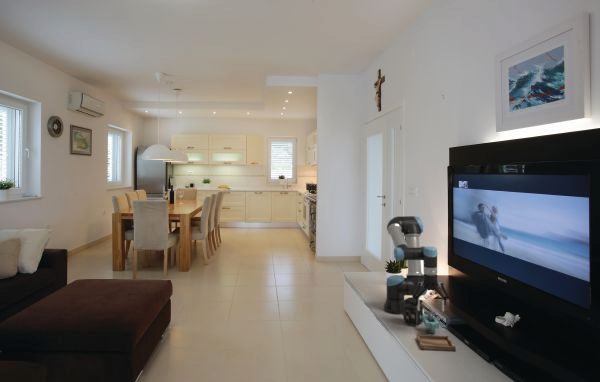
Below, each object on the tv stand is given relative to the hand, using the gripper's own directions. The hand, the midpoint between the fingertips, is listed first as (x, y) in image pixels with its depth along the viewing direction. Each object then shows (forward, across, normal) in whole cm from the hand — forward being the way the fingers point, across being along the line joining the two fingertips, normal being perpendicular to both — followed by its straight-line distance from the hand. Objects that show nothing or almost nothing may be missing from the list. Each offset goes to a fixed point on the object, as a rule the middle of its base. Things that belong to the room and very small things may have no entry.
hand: (430, 310), depth 205 cm
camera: (+13, -8, +14) cm, 21 cm away
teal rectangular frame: (+8, 0, 0) cm, 8 cm away
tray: (+14, -1, -14) cm, 20 cm away
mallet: (+13, 0, +1) cm, 13 cm away
